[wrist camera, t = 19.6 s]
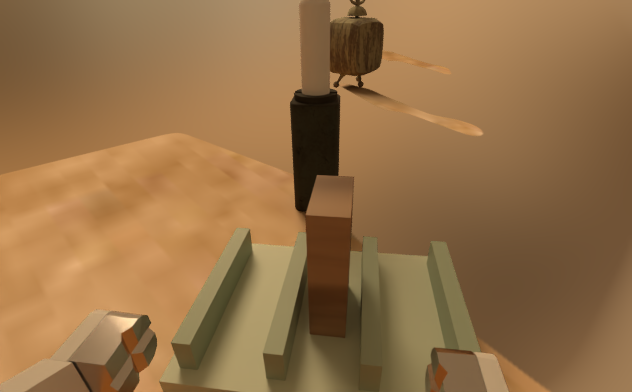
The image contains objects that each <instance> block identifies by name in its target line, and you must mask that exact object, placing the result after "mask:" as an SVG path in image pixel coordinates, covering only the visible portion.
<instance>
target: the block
mask: <svg viewBox="0 0 632 392" xmlns="http://www.w3.org/2000/svg"><path fill="white" fill-rule="evenodd" d="M353 185H354V177H348V176H328V175H317V177H316V181H315V184H314V188H313V191H312V194H311V198H310V201H309V205H308V208H307V212H306V244H307V274H308V304H309V333H310V334H311V335H321V336H330V337H340V338H345V333H346V318H347V304H348V289H349V269H350V249H351V227H352V205H353V187H354V186H353Z"/></svg>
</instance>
